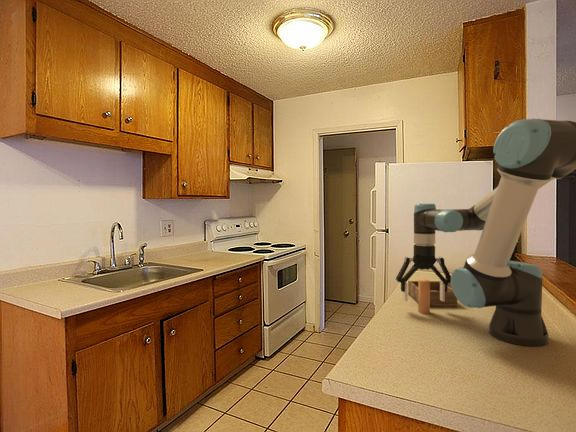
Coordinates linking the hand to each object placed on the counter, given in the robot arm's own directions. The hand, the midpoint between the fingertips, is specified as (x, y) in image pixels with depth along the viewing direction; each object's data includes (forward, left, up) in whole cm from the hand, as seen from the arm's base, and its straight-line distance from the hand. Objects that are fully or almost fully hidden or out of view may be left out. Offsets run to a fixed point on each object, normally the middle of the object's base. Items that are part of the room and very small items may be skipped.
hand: (423, 300), depth 127 cm
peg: (0, 0, -4) cm, 4 cm away
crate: (+16, -8, -4) cm, 18 cm away
